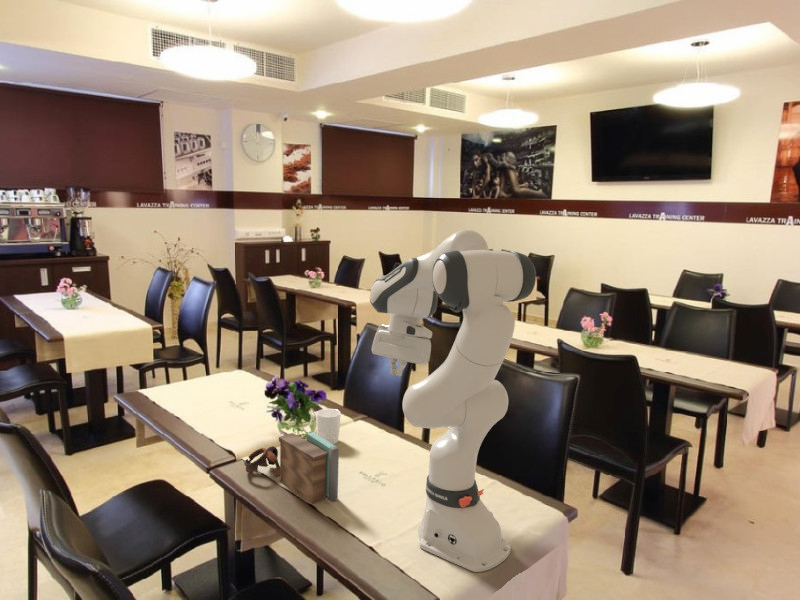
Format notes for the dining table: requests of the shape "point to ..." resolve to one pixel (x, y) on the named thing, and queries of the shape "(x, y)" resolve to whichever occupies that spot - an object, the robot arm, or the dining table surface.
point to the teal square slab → (328, 464)
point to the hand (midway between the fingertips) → (395, 375)
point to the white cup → (328, 424)
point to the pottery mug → (263, 460)
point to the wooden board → (303, 467)
